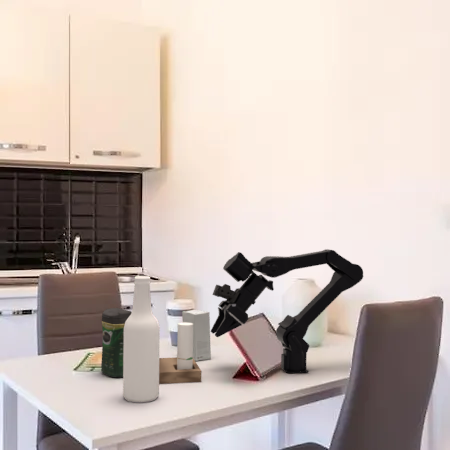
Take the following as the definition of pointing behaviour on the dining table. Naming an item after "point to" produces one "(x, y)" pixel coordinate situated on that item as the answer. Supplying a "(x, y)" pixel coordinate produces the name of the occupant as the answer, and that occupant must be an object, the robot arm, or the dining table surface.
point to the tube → (185, 346)
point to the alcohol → (141, 347)
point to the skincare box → (199, 333)
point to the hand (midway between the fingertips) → (213, 334)
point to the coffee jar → (113, 341)
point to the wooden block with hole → (177, 372)
